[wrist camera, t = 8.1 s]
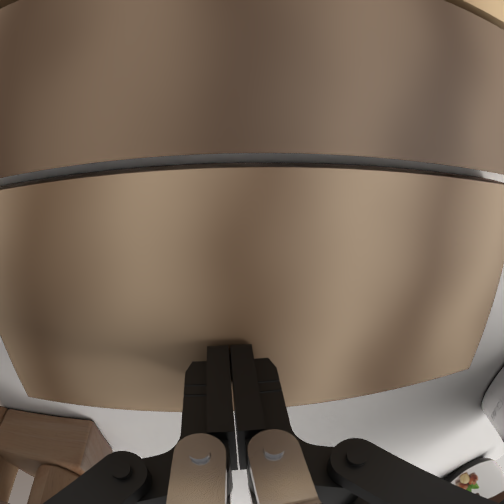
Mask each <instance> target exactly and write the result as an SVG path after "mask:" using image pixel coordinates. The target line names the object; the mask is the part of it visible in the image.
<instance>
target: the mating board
mask: <svg viewBox="0 0 504 504" xmlns="http://www.w3.org/2000/svg"><path fill="white" fill-rule="evenodd" d="M218 153H305V154H331V155H349V156H364V157H377V158H389V159H399V160H409V161H418V162H426V163H434V164H442V165H449V166H456V167H463V168H469V169H476V170H482V171H487V172H493V173H498V174H504V30H503V29H501V28H499V27H497V26H496V25H494V24H492V23H490V22H488V21H487V20H485V19H483V18H481V17H479V16H477V15H475V14H473V13H471V12H469V11H467V10H465V9H462V8H460V7H458V6H456V5H454V4H451V3H449V2H447V1H444V0H19V1H16V2H14V3H12V4H10V5H7V6H5V7H3V8H1V9H0V178H3V177H7V176H13V175H18V174H23V173H29V172H34V171H40V170H46V169H53V168H59V167H66V166H73V165H80V164H88V163H96V162H105V161H114V160H124V159H135V158H146V157H159V156H174V155H193V154H218Z"/></svg>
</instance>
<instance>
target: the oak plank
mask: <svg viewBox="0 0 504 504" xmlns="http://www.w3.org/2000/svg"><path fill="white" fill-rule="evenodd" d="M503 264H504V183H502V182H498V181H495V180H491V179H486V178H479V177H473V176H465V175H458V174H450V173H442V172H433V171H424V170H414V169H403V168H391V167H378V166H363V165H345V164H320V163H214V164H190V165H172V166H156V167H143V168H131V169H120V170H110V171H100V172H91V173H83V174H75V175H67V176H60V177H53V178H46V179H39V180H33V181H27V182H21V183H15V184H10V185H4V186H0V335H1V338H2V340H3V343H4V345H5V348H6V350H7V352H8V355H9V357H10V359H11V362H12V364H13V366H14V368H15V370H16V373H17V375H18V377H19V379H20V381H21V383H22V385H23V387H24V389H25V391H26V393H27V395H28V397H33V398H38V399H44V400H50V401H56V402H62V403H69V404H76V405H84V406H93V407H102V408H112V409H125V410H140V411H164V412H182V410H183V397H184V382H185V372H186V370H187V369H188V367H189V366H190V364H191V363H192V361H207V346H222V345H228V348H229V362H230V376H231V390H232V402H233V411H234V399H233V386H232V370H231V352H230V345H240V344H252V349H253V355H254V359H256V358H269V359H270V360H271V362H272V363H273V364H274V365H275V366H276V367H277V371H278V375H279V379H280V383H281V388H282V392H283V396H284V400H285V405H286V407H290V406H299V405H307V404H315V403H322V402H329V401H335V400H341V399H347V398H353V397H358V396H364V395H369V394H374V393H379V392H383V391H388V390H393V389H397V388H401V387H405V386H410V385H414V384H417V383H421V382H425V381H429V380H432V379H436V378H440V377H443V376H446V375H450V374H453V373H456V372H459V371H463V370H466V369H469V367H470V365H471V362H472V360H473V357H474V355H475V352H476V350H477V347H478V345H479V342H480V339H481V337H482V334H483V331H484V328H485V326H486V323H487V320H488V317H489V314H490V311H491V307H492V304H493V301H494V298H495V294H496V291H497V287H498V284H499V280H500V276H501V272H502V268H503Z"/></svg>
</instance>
